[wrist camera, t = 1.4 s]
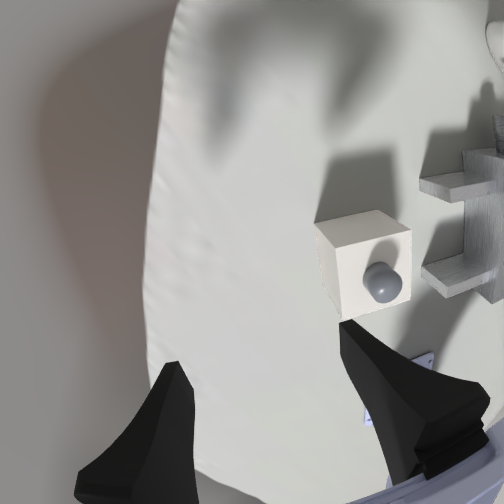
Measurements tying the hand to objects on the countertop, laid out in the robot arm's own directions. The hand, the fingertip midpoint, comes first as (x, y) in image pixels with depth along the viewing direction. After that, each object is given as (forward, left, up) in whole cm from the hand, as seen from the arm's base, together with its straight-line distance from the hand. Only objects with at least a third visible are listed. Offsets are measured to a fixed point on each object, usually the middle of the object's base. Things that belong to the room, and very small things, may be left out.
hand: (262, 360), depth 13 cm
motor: (+1, -20, -10) cm, 22 cm away
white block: (0, -8, -10) cm, 13 cm away
